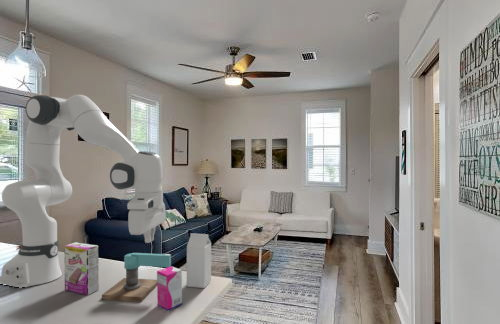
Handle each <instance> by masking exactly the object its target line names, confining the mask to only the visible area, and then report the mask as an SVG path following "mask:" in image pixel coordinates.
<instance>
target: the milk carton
mask: <svg viewBox="0 0 500 324" xmlns="http://www.w3.org/2000/svg"><path fill="white" fill-rule="evenodd" d="M211 280H212V241H211V239H210V238H209V233H208V234H205V233H190V236H189V239H188V242H187V245H186V287H187V288H188V287H190V288H198V289H199V288H201V289H205V288H206V287H207V286H209V285H208V284H209V283H210V282H211Z"/></svg>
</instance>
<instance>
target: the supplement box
mask: <svg viewBox="0 0 500 324" xmlns="http://www.w3.org/2000/svg"><path fill="white" fill-rule="evenodd" d="M182 274H183V273H182V269H181V268H177V267H174V266H172V265H171V266H170V267H164V268H162V269H159V270H157V271H156V280H157V286H156V287H157V291H156V292H157V293H156V295H157V296H156V297H157V306H158V307H160V308H162V309H163V310H165V311H167V312H169V311H171V310H173V309H176V308H178V307H179V306H181V305H183V288H182V287H183V286H182V284H183V283H182V276H183V275H182Z"/></svg>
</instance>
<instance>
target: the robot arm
mask: <svg viewBox="0 0 500 324" xmlns="http://www.w3.org/2000/svg"><path fill="white" fill-rule="evenodd" d="M25 113H26V116H27V118H28V119H29V122H28V125H27V129H26V134H25V142H24V144H25V145H24V159H23V160H24V163H25V165H26V166H27V167H28V168H30V169H32V170H33V172H34V174H35V179H24V180H19V181H15V182H13V183H9V184H7V185H6V186H4V189H3V190H2V192H1V199H2V200H1V201H2V203H3V205H4V206H5V207H6V208H7V209H9V210H11V211H12V212H14V213H15V214H16V215H17V217H18V219H19V221H20V224H21V231H22V243H21V244H20V245H17V246H16V249H15V250H18V253H17V254H16V255H15V256H13V257H12V258H11V259H9V260H8V261H7V262H6V263H4V264H3V266H2V268H1V273H0V283H1V284H6V285H10V286H15V287H19V288H18V289H23V288H22V287H25V288H28V287H31V286H37V285H38V286H39V285H42V284H47V283H50V282H52V281H55V280H57V279H59V278H60V277H61V276H62V275H63V272H62V270H61V266H60V260H59V253H58V252H59V240H58V222H57V220H56V219H55V218H53V217H52V216H49V214H48V213H47V210H46V207H49V206H50V207H51V206H54V205H59V204H61V203H64V202H66V201H68V200H69V199H70V198H71V197H72V195H73V186H72V184H71V182H70V181H69V180H67V179H66V177H65V176H64V174H63V171H62V169H61V165H60V163H61V162H60V154H61V151H60V149H61V134H62V132H63V131H64V130H65V129H67V131H69V132H70V131H73V130H75V131H76V133H77V134H78V135H79V137H80V138H81V139H83V140H84V141H85V142H86V143H88V144H91V145H95V146H99V147H104V148H106V149H110V150H112V151H113V152H116V153H117V154H119V156H121V158H122V159H123V161H121V162H116V163H114V165H113V166H112V167H111V169H110V170H109V171H110V172H109V180H110V183H111V184H112V186H113V187H114V188H116V189H117V190H122V191H127V190H134V196H133V197H132V199H131V200H129V201H128V202H127V210H129V211H128V214H127V215H128V219H127V221H128V222H127V223H128V225H127V226H128V231H129V234H130V235H131V236H132V235H133V236H134V235H135V236H140V235H143V237H144V242H145V243H146V244H150V243H152V242H153V241H154V240H155V236H154V235H155V233H156V227H157V226H159V225H161V224H163V223H165V222H166V218H167V217H166V215H167V214H166V205H165V202H164V191H163V189H164V188H163V185H162V183H163V179H164V178H163V177H164V176H163V175H164V174H163V171H164V170H163V162H162V158H161V155H160V154H159V153H156V152H153V151H146V150H145V151H140V150H139V149H138V147H137V146H136V145H135V144H134V143H133V142H132V141H131V140H130V139H129V138H128V137H127V136H126V135H125V134H124V133H123V132H122V131H121V130H119V129H118V128H117V127H116V126H115V125H114V124H113V123H112V122H111V121H110V120H109V119H108V117H107V116H106V115H105V114H104V113H103V111H102V110H101V109H100V108H99V106H98V105H97V104H96V103H95V102H94V101H93V100H91V98H90V97H88V96H86V95H84V94H73V95H72V96H70V97H68V98H64V97H57V96H50V95H44V94H39V95H37V94H35V95H33V96H31V97H30V98H29V99H28V100H27V102H26V103H25Z"/></svg>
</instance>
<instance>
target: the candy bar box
mask: <svg viewBox="0 0 500 324" xmlns="http://www.w3.org/2000/svg"><path fill="white" fill-rule="evenodd" d="M63 246H64V249H63V250H64V254H63V255H64V292H69V293H73V294H74V293H75V294H80V295H84V296H90V295H92V294H93V293H96V292H97V291H99V245H97V244H90V243H84V242H83V243H82V242H77V241H76V242H72V243H69V244H66V245H63Z"/></svg>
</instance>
